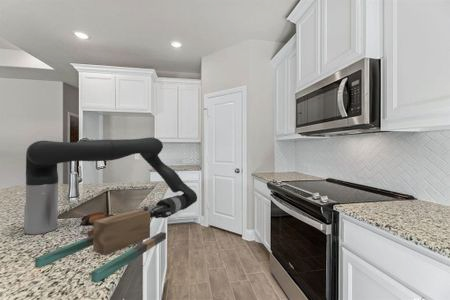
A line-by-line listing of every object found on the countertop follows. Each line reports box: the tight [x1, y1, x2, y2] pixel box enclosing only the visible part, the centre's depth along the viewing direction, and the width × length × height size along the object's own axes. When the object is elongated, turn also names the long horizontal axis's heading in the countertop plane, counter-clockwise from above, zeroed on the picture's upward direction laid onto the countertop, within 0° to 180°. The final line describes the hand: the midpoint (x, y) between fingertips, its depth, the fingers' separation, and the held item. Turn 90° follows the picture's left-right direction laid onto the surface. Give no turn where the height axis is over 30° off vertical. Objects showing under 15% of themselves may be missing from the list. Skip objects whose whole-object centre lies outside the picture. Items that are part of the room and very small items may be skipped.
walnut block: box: [92, 209, 151, 256], centre depth 71 cm, size 6×16×9 cm, turn 149°
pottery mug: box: [78, 211, 115, 237], centre depth 82 cm, size 12×10×8 cm
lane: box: [34, 231, 167, 283], centre depth 66 cm, size 21×27×2 cm
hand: (142, 217), depth 80 cm, fingers closed
